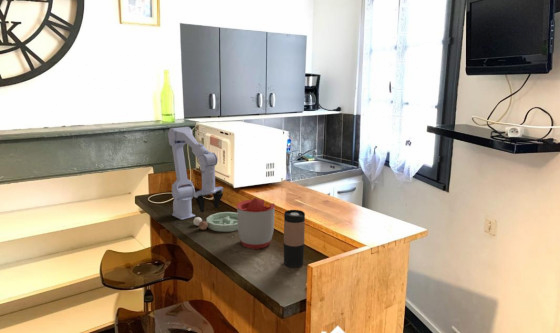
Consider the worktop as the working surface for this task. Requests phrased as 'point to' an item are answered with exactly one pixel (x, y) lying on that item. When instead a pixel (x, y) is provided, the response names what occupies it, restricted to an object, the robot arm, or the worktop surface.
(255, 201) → the citrus juicer
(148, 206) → the worktop surface
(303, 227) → the travel mug
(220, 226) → the tray
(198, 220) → the ivory bead
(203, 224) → the terracotta bead
